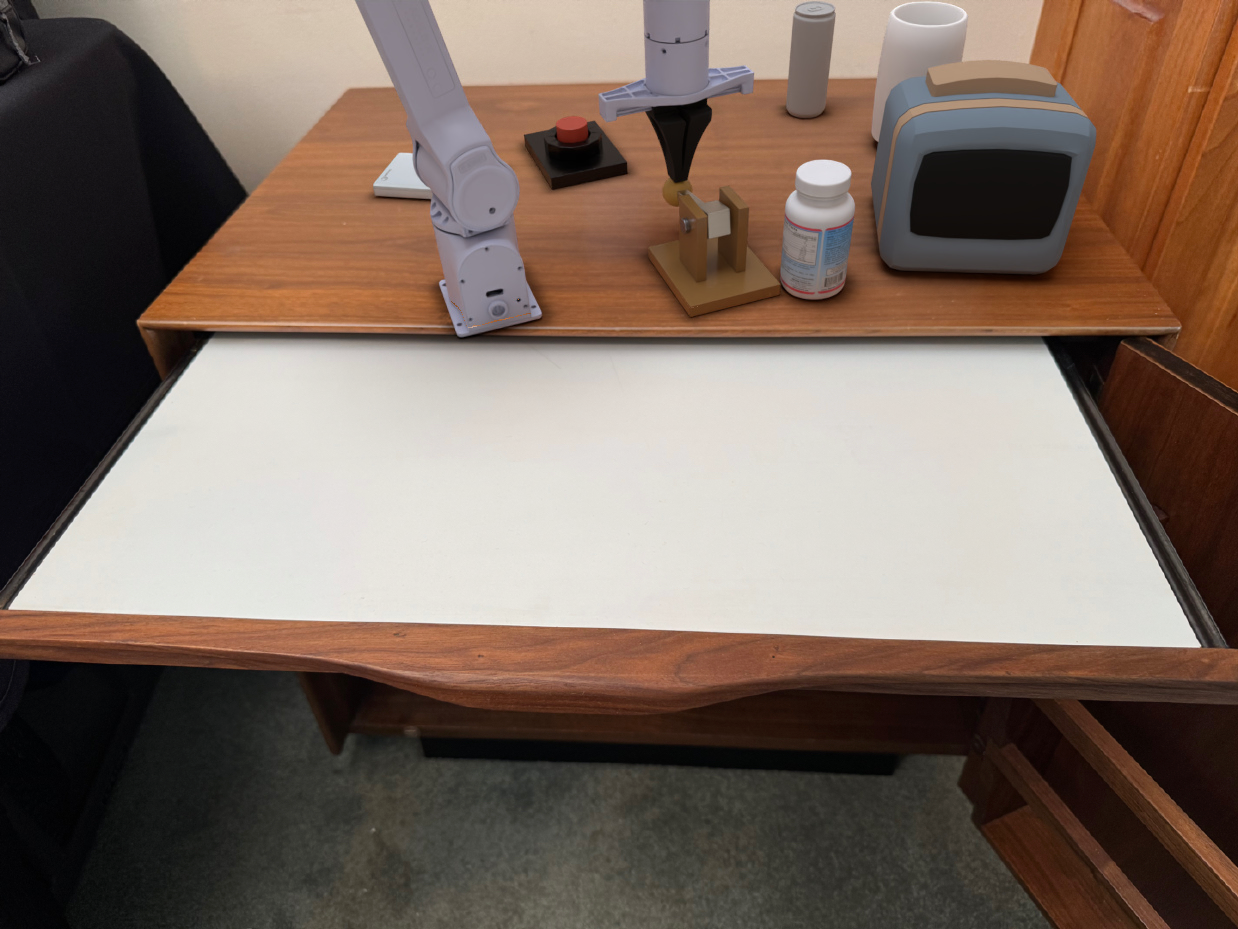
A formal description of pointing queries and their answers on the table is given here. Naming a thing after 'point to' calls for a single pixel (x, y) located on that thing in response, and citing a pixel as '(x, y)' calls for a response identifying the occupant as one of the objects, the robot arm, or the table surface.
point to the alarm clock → (979, 169)
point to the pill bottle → (817, 230)
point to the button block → (575, 157)
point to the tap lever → (714, 209)
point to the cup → (917, 47)
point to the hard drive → (401, 180)
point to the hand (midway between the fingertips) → (677, 177)
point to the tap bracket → (713, 260)
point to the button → (572, 129)
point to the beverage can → (810, 58)
